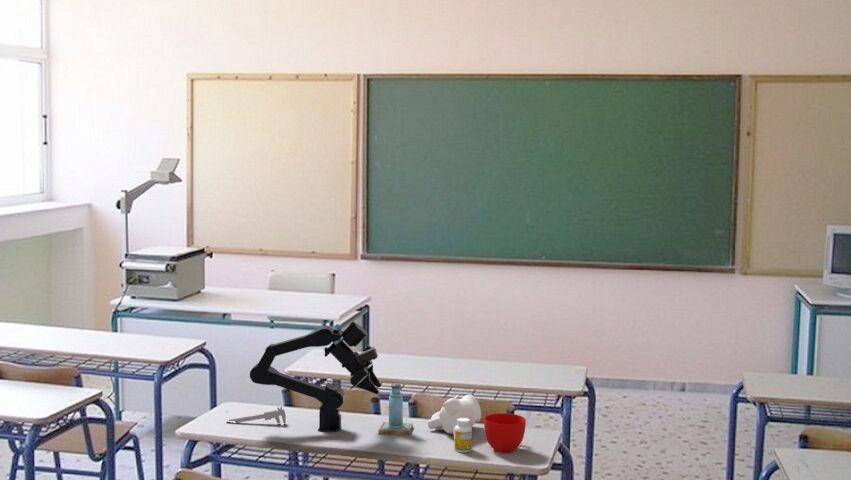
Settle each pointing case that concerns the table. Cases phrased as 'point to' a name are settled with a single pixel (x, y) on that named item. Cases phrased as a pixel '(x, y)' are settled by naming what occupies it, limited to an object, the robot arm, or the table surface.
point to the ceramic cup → (504, 431)
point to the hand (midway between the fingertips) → (379, 389)
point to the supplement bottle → (463, 435)
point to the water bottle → (395, 407)
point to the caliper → (264, 416)
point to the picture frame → (395, 429)
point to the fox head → (455, 413)
